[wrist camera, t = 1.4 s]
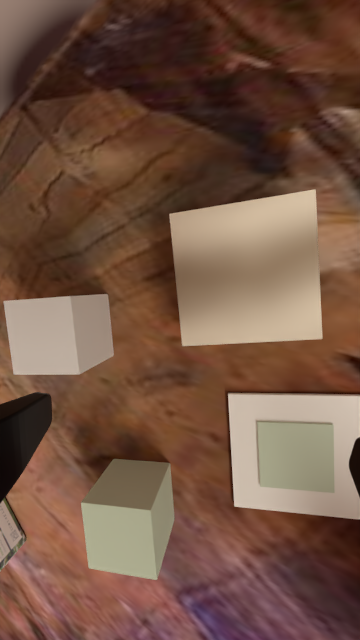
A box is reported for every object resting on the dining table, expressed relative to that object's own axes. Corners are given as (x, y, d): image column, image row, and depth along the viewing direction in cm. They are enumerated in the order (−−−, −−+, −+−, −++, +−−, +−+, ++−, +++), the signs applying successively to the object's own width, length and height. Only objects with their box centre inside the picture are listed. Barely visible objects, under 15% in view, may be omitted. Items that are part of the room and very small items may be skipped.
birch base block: (306, 328, 19) (322, 338, 15) (193, 335, 21) (182, 346, 17) (300, 209, 18) (315, 189, 14) (183, 227, 20) (169, 213, 16)
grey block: (114, 355, 22) (79, 374, 18) (60, 356, 24) (13, 374, 19) (108, 293, 22) (70, 296, 17) (53, 297, 23) (3, 301, 18)
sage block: (174, 518, 23) (156, 580, 18) (119, 511, 24) (88, 568, 19) (170, 462, 23) (150, 510, 18) (113, 458, 24) (81, 502, 19)
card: (363, 516, 20) (366, 522, 19) (234, 503, 22) (234, 508, 21) (363, 394, 19) (366, 397, 18) (228, 392, 21) (227, 395, 20)
